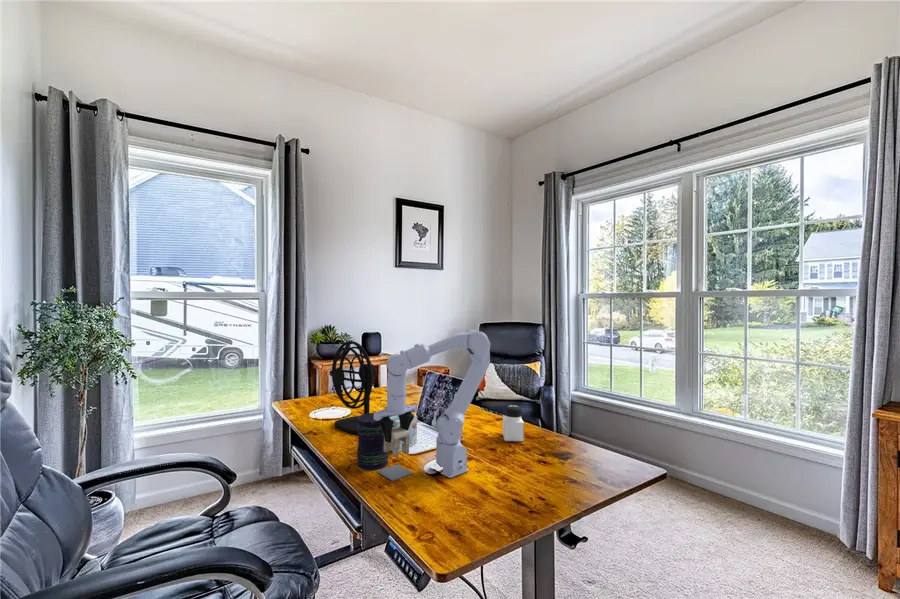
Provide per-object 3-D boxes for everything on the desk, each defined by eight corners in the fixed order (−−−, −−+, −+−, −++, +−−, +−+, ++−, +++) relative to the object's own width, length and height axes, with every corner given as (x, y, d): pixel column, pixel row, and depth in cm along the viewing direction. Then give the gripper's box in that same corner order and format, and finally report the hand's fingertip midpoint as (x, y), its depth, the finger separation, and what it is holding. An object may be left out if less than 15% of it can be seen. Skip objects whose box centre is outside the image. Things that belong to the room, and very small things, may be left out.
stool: (408, 453, 122) (409, 431, 122) (395, 457, 119) (395, 435, 119) (397, 447, 127) (397, 426, 127) (383, 451, 123) (384, 429, 123)
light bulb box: (396, 453, 139) (397, 421, 139) (382, 448, 143) (383, 418, 143) (417, 444, 147) (418, 414, 147) (403, 440, 151) (404, 411, 151)
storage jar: (394, 464, 130) (395, 417, 129) (368, 473, 123) (369, 423, 123) (376, 455, 137) (377, 410, 137) (350, 463, 130) (351, 416, 130)
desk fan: (319, 424, 169) (321, 339, 169) (356, 415, 182) (357, 337, 181) (357, 440, 150) (359, 345, 150) (394, 430, 163) (396, 342, 163)
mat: (413, 474, 123) (413, 472, 123) (392, 481, 118) (392, 479, 118) (397, 465, 129) (397, 464, 129) (377, 472, 124) (377, 470, 124)
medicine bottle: (523, 441, 152) (524, 409, 152) (504, 441, 152) (505, 409, 152) (520, 435, 159) (521, 404, 159) (502, 434, 160) (503, 404, 160)
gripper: (408, 388, 131) (407, 431, 131) (368, 395, 121) (367, 441, 121) (421, 392, 126) (421, 437, 126) (381, 400, 116) (380, 448, 116)
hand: (395, 439), depth 123 cm, fingers closed on stool, 5 cm apart
